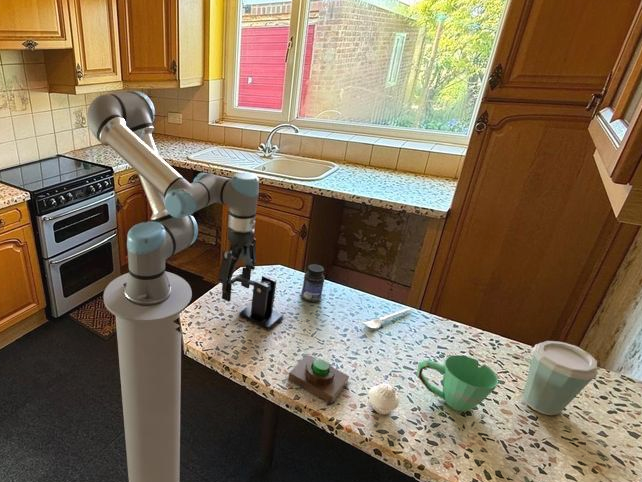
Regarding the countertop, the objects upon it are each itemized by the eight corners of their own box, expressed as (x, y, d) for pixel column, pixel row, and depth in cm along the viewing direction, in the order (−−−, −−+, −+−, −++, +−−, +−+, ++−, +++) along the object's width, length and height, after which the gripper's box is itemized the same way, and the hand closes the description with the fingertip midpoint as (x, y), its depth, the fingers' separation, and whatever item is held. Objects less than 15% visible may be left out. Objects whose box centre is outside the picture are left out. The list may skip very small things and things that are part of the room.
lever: (230, 285, 121) (229, 278, 120) (240, 278, 124) (239, 271, 124) (264, 294, 113) (263, 287, 112) (273, 287, 116) (273, 280, 115)
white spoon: (414, 313, 122) (415, 308, 121) (367, 332, 114) (369, 327, 113) (404, 307, 124) (406, 302, 123) (358, 325, 116) (360, 320, 116)
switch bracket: (239, 315, 121) (242, 279, 115) (254, 304, 126) (258, 269, 120) (268, 330, 114) (273, 293, 109) (282, 318, 120) (288, 282, 114)
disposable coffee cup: (534, 423, 87) (564, 371, 80) (498, 385, 97) (523, 336, 90) (583, 423, 87) (617, 372, 80) (542, 385, 97) (570, 336, 90)
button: (309, 370, 96) (310, 364, 95) (316, 362, 98) (317, 356, 97) (323, 377, 94) (325, 372, 93) (330, 369, 96) (331, 364, 95)
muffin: (381, 395, 94) (388, 373, 90) (401, 416, 88) (409, 393, 85) (359, 401, 92) (365, 378, 89) (377, 422, 87) (385, 400, 84)
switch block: (288, 379, 98) (290, 366, 96) (305, 360, 104) (308, 348, 102) (331, 404, 91) (334, 391, 89) (347, 382, 97) (350, 370, 95)
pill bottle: (324, 301, 127) (330, 271, 122) (307, 304, 126) (312, 274, 121) (313, 290, 133) (319, 262, 128) (297, 293, 131) (302, 264, 126)
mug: (477, 394, 94) (492, 362, 89) (487, 427, 86) (504, 394, 81) (407, 375, 99) (418, 344, 95) (410, 405, 91) (422, 372, 87)
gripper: (228, 244, 105) (223, 313, 115) (273, 220, 119) (265, 283, 129) (206, 235, 109) (203, 302, 119) (252, 213, 124) (246, 275, 134)
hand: (235, 292), depth 124 cm, fingers open, 9 cm apart
